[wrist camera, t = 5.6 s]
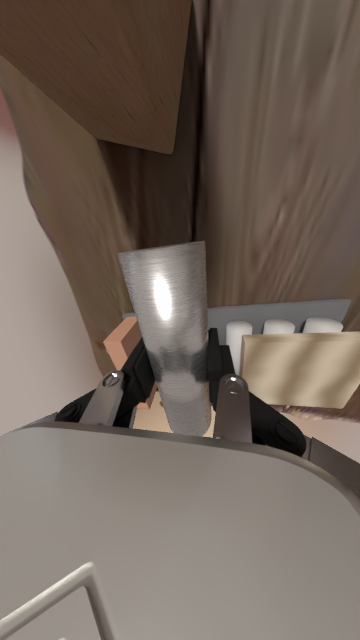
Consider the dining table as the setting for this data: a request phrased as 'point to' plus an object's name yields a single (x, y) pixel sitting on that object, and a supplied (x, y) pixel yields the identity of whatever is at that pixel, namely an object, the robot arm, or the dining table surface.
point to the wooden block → (104, 62)
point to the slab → (302, 367)
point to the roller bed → (273, 312)
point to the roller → (174, 327)
